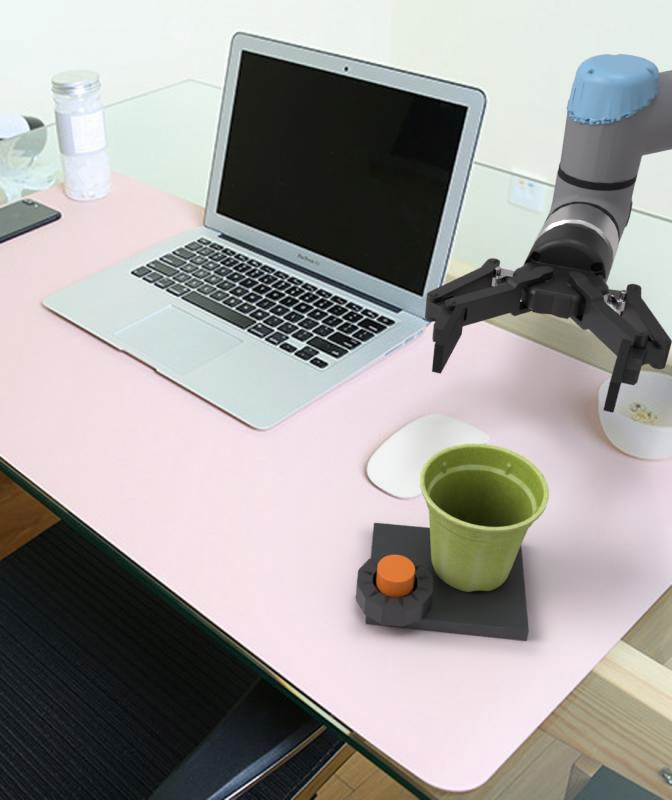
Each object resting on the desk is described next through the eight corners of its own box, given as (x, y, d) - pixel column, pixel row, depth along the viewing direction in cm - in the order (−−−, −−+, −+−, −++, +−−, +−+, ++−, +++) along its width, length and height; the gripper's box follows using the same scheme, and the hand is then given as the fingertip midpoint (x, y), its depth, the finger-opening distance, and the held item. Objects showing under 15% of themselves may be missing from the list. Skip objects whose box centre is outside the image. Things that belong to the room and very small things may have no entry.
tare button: (413, 572, 73) (415, 556, 72) (412, 600, 71) (414, 583, 70) (377, 568, 73) (378, 552, 72) (375, 596, 71) (376, 580, 70)
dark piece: (518, 546, 79) (523, 519, 77) (527, 651, 70) (533, 624, 68) (363, 531, 80) (364, 505, 79) (352, 632, 72) (354, 605, 70)
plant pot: (552, 558, 76) (571, 476, 71) (494, 631, 70) (510, 548, 65) (450, 508, 81) (461, 427, 76) (388, 572, 75) (395, 490, 70)
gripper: (701, 320, 88) (679, 454, 73) (439, 270, 97) (369, 381, 81) (722, 246, 84) (703, 373, 68) (446, 201, 92) (373, 305, 77)
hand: (521, 377), depth 75 cm, fingers open, 13 cm apart
